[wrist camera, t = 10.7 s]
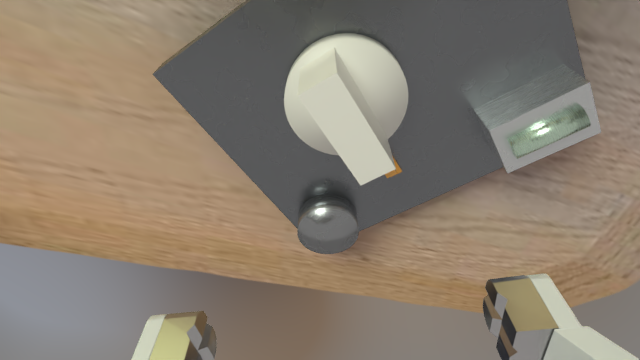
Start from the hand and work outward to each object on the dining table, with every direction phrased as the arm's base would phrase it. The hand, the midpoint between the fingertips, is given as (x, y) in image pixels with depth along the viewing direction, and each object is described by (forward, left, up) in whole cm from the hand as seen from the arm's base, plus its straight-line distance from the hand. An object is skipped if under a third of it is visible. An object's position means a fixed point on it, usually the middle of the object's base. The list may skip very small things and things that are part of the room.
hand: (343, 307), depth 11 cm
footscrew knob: (0, -3, -17) cm, 18 cm away
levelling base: (+2, -3, -20) cm, 20 cm away
